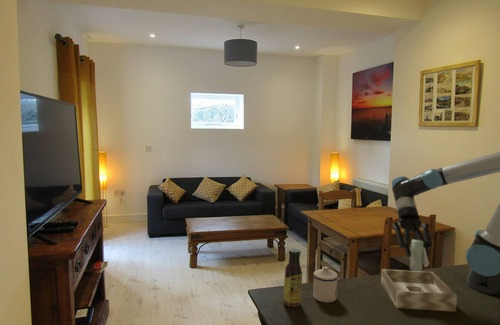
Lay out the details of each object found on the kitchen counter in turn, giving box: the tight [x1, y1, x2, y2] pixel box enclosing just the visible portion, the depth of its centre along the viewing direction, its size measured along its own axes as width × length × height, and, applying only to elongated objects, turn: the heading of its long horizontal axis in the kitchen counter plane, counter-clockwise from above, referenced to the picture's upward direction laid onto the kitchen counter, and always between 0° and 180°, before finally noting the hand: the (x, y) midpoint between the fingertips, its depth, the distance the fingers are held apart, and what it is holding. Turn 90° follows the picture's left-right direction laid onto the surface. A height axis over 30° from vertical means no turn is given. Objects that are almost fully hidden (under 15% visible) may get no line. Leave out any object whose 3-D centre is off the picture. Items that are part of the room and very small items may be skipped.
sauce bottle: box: [283, 248, 303, 308], centre depth 122 cm, size 6×6×20 cm
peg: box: [409, 238, 423, 271], centre depth 130 cm, size 4×4×11 cm
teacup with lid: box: [312, 266, 339, 303], centre depth 130 cm, size 12×9×12 cm
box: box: [380, 268, 458, 312], centre depth 130 cm, size 20×20×6 cm
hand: (420, 264), depth 126 cm, fingers closed on peg, 4 cm apart
